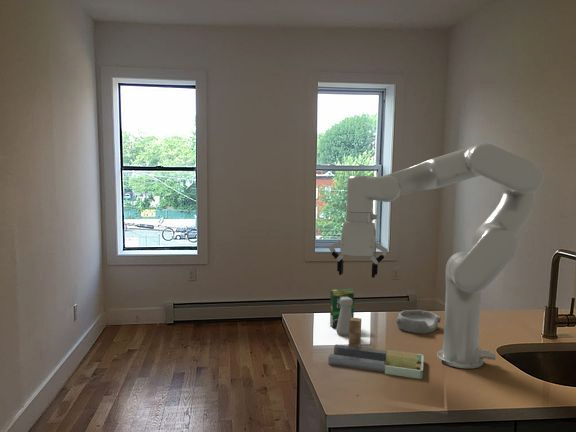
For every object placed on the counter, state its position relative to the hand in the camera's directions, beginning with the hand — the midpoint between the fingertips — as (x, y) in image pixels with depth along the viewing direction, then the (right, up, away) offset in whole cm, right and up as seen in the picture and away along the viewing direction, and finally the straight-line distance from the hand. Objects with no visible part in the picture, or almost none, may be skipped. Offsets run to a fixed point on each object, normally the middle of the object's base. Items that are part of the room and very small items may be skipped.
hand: (357, 275), depth 139 cm
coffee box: (-2, -21, +25) cm, 33 cm away
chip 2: (+12, -24, -11) cm, 29 cm away
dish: (+25, -22, +26) cm, 42 cm away
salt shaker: (-2, -22, +15) cm, 27 cm away
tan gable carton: (0, -23, +2) cm, 23 cm away
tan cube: (+9, -24, -10) cm, 27 cm away
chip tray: (+11, -25, -11) cm, 29 cm away
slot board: (-1, -24, -7) cm, 25 cm away
